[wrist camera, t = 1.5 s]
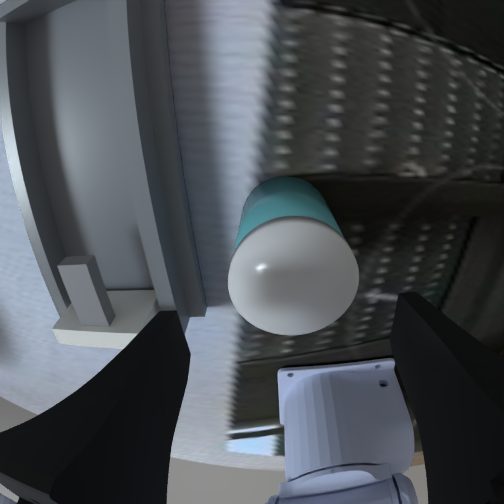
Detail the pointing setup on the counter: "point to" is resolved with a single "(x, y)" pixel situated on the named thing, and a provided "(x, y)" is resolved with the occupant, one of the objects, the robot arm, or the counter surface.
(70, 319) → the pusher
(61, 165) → the lane
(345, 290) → the jar
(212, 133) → the counter surface
